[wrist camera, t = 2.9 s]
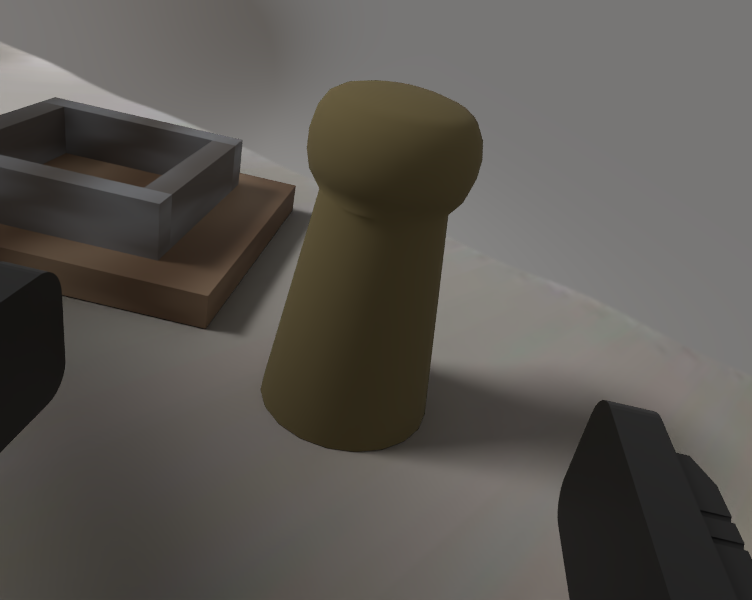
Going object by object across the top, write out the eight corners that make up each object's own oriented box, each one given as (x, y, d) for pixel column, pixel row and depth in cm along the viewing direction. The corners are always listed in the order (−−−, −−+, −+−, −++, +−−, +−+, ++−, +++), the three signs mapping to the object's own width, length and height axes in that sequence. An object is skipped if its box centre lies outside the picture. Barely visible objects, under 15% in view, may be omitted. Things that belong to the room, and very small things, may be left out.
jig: (-179, 237, 26) (-202, 140, 24) (30, 149, 39) (25, 80, 37) (205, 328, 26) (212, 237, 24) (292, 210, 38) (301, 143, 36)
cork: (259, 342, 26) (295, 52, 20) (406, 351, 27) (474, 82, 22) (261, 449, 21) (310, 98, 15) (442, 454, 22) (543, 134, 17)
